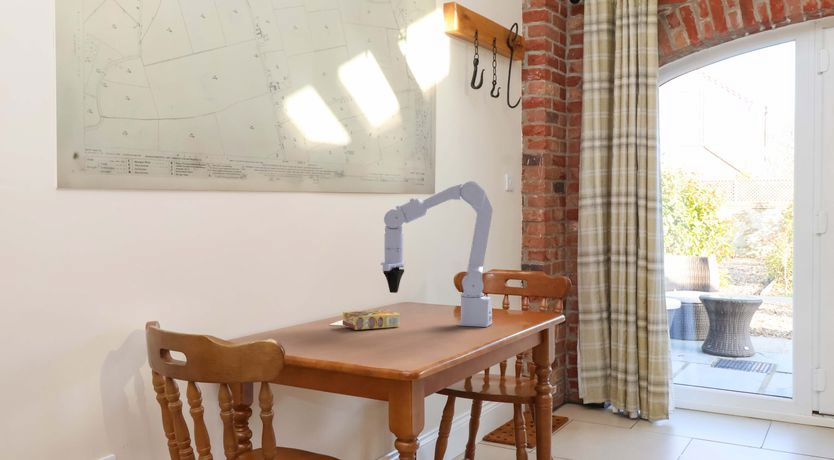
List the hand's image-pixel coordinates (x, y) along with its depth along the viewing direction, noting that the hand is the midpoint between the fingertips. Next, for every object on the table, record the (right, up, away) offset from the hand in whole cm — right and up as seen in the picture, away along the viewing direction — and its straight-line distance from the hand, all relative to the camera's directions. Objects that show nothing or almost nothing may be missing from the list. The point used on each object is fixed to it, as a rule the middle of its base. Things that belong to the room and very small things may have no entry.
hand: (393, 292), depth 240 cm
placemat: (-11, -10, +4) cm, 15 cm away
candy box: (0, -8, -1) cm, 8 cm away
